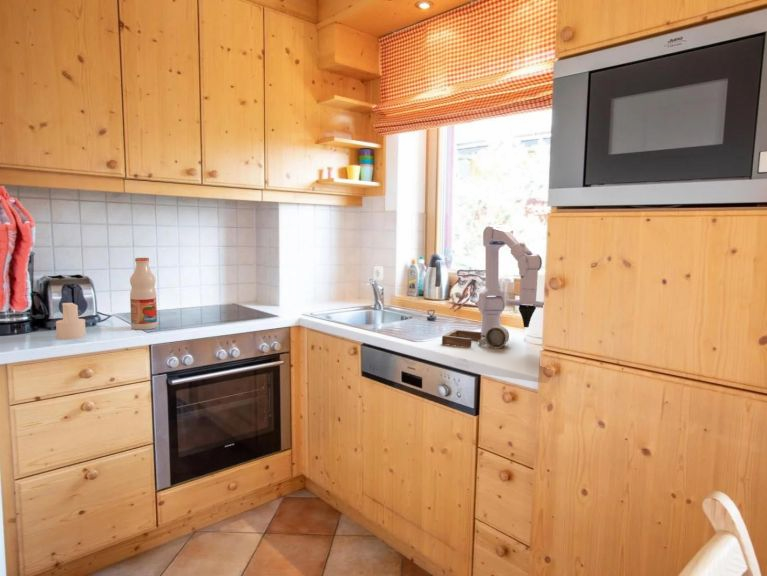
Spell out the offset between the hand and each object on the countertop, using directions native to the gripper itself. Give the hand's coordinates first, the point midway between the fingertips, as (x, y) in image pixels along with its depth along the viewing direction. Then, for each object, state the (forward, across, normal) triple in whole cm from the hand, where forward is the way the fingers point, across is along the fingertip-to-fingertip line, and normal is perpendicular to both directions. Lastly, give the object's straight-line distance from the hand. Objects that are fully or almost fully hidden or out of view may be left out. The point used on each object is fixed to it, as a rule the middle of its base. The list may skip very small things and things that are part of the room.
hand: (526, 326), depth 179 cm
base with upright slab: (+8, -149, -69) cm, 164 cm away
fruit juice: (+8, -142, -44) cm, 148 cm away
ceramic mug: (+9, -11, 0) cm, 14 cm away
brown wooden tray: (+8, -23, 0) cm, 24 cm away
